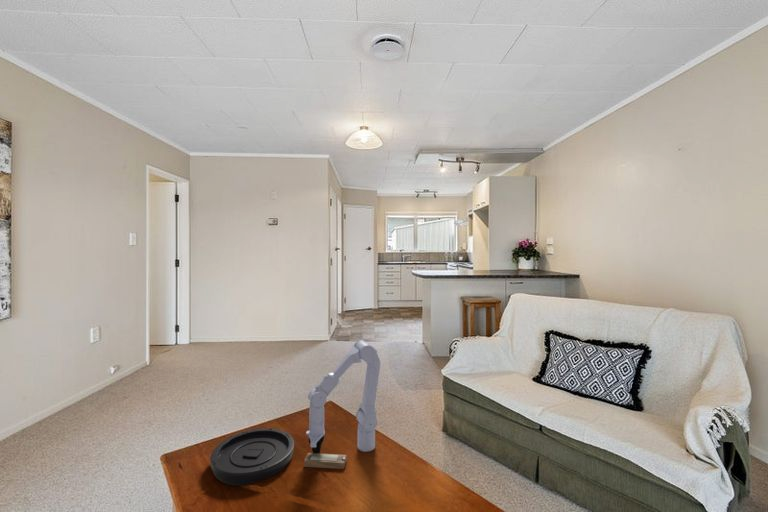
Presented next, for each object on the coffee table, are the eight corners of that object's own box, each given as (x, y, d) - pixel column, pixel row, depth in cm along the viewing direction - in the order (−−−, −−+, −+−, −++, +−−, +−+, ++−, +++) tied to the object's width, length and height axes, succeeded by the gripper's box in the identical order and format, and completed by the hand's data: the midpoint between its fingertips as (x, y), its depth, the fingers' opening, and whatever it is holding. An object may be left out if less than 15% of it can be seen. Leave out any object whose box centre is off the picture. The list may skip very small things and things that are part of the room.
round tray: (275, 492, 115) (304, 443, 145) (275, 475, 115) (304, 429, 145) (191, 486, 118) (237, 439, 148) (191, 469, 118) (237, 425, 148)
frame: (308, 458, 132) (308, 451, 132) (347, 460, 131) (347, 453, 131) (304, 466, 127) (304, 459, 127) (344, 468, 126) (344, 461, 126)
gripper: (310, 411, 140) (309, 444, 140) (302, 430, 125) (302, 467, 125) (327, 411, 140) (327, 444, 140) (321, 430, 125) (321, 467, 125)
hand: (316, 455), depth 133 cm, fingers closed
